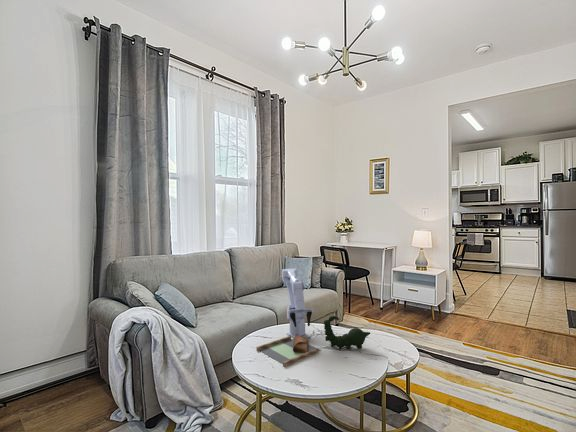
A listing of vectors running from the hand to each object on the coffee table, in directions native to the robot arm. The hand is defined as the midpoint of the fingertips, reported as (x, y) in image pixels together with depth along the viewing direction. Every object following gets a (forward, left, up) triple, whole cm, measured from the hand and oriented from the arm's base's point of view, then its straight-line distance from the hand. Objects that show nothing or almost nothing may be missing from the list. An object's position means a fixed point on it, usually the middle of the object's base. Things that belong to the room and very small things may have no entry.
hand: (302, 326), depth 181 cm
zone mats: (+8, -1, -12) cm, 14 cm away
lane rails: (+10, -1, -12) cm, 15 cm away
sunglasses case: (0, -1, -12) cm, 12 cm away
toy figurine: (-18, +17, -12) cm, 27 cm away
